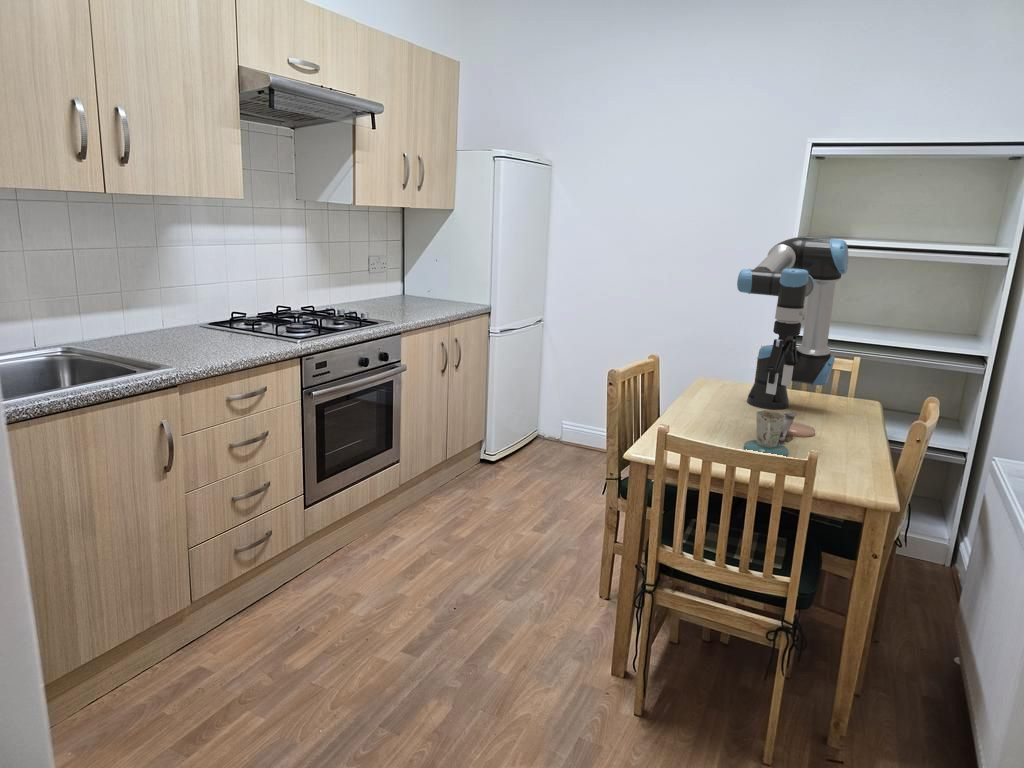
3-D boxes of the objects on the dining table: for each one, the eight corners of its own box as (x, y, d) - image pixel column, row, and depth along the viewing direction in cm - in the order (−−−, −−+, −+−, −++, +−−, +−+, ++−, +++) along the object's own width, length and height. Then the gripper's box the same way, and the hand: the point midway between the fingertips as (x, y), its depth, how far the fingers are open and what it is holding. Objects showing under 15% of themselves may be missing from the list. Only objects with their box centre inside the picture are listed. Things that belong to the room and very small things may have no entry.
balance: (768, 441, 224) (771, 418, 222) (781, 432, 234) (785, 410, 232) (783, 445, 221) (787, 422, 219) (796, 436, 231) (800, 413, 229)
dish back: (768, 430, 236) (769, 427, 236) (781, 422, 246) (781, 419, 245) (808, 439, 228) (808, 436, 228) (819, 431, 238) (820, 427, 238)
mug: (780, 442, 220) (784, 412, 218) (781, 455, 208) (786, 423, 206) (752, 438, 223) (756, 409, 220) (752, 451, 211) (757, 419, 208)
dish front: (737, 450, 215) (737, 446, 214) (752, 440, 224) (753, 437, 224) (779, 461, 207) (780, 457, 206) (793, 450, 217) (794, 447, 216)
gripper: (786, 327, 196) (776, 399, 201) (813, 318, 214) (803, 384, 220) (760, 324, 200) (751, 394, 206) (789, 315, 219) (780, 380, 224)
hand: (778, 389), depth 213 cm, fingers open, 13 cm apart
